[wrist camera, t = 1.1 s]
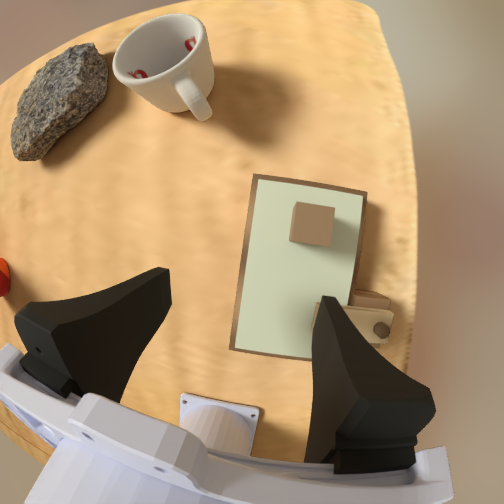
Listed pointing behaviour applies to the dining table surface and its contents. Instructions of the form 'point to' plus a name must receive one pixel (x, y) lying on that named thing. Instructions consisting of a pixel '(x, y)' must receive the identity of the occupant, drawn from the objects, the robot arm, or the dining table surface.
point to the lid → (295, 264)
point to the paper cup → (4, 278)
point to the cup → (168, 64)
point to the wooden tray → (355, 296)
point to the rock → (58, 100)
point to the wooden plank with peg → (367, 322)
